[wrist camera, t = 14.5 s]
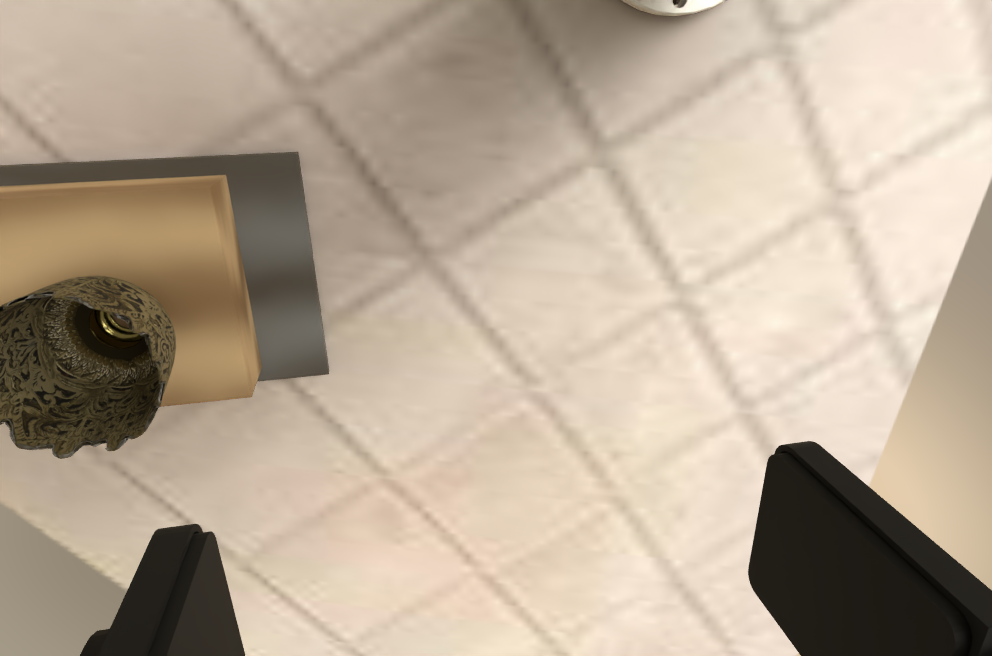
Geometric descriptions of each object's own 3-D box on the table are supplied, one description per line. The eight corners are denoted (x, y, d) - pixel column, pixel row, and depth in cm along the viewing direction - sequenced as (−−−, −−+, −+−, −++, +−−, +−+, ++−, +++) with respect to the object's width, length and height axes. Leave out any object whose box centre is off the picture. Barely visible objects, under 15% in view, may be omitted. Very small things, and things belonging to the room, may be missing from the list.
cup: (189, 240, 32) (138, 291, 25) (217, 368, 35) (177, 447, 28) (29, 250, 31) (-74, 306, 24) (71, 381, 34) (-9, 468, 27)
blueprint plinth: (-100, 170, 33) (-167, 185, 28) (298, 152, 36) (289, 163, 32) (-9, 404, 38) (-54, 445, 34) (329, 370, 41) (324, 404, 37)
